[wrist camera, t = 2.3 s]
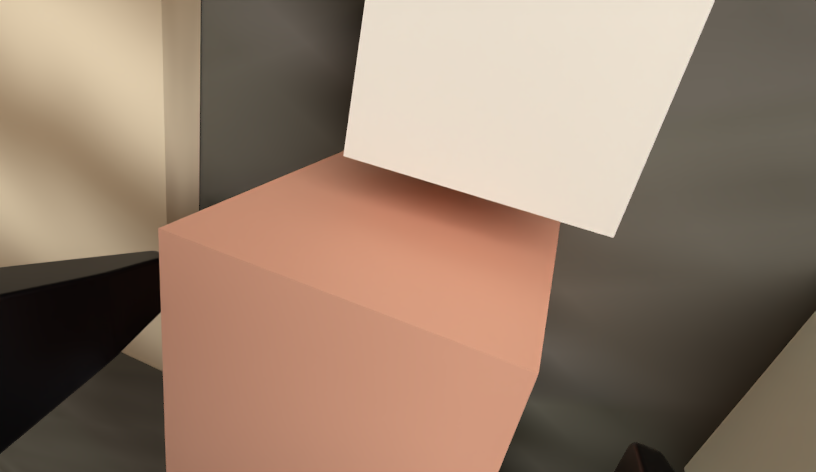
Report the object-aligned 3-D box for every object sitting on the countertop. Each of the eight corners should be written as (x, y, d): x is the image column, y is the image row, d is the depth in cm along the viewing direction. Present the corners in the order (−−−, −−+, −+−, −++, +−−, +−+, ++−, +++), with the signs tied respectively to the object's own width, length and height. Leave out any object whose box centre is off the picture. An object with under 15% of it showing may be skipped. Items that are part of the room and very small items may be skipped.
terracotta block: (498, 380, 12) (434, 626, 7) (330, 314, 13) (166, 484, 8) (562, 207, 10) (538, 373, 5) (355, 145, 11) (158, 228, 6)
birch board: (197, 353, 16) (170, 374, 15) (-16, 257, 18) (-53, 270, 17) (200, -54, 11) (159, -65, 10) (-95, -116, 13) (-155, -130, 12)
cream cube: (603, 169, 10) (613, 238, 6) (423, 120, 11) (343, 156, 7) (689, -52, 8) (769, -130, 5) (466, -88, 9) (389, -177, 5)
